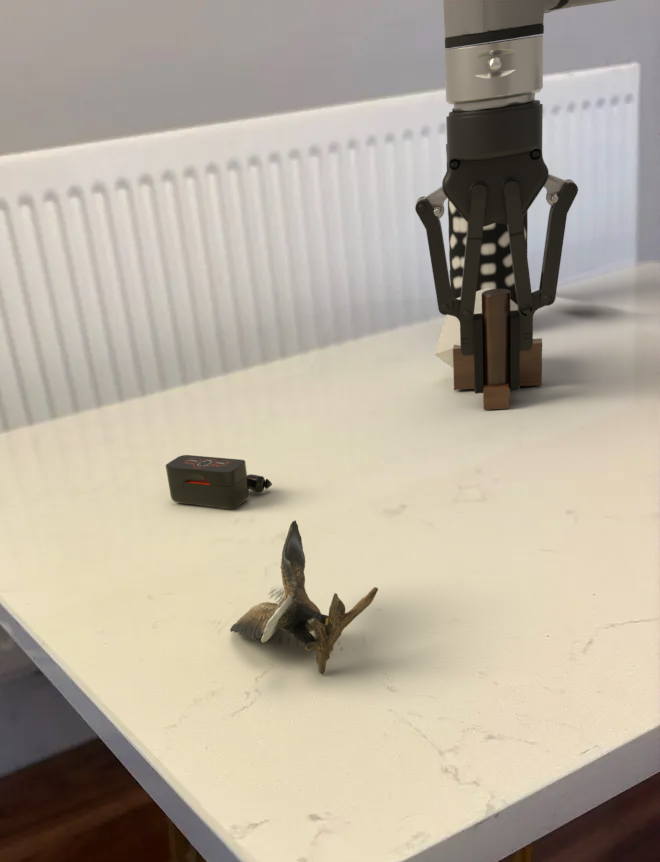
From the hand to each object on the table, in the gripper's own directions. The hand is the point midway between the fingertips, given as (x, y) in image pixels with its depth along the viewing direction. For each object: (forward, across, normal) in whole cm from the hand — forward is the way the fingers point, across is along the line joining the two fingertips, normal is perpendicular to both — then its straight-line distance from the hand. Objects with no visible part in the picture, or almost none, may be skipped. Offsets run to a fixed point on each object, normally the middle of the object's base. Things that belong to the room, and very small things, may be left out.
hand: (496, 387), depth 93 cm
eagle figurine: (+2, -13, -42) cm, 44 cm away
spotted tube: (+2, 0, +27) cm, 27 cm away
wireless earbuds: (+2, -22, -20) cm, 29 cm away
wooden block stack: (+1, 0, +2) cm, 2 cm away
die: (+2, -1, +9) cm, 9 cm away
